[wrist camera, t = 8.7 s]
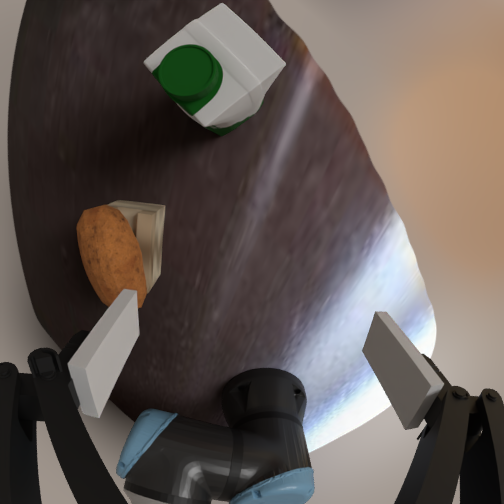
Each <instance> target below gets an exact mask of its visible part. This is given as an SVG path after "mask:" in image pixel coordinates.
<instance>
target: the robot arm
mask: <svg viewBox="0 0 504 504" xmlns="http://www.w3.org/2000/svg"><path fill="white" fill-rule="evenodd" d="M138 336H139V322H138V305H137V291H136V290H129V289H123V290H122V292H121V293H120V294H119V295H118V297H117V298H116V299H115V300H114V302H113V303H112V304H111V306H110V307H109V308H108V309H107V311H106V312H105V313H104V315H103V316H102V317H101V319H100V320H99V321H98V323H97V324H96V325H95V327H94V328H93V329H92V331H91V332H89V331H84V330H82V331H80V332H78V333H77V334H75V335H74V336H73V337H72V338H71V339H70V341H69V343H67V345H66V346H65V348H63V350H62V351H61V352H60V354H59V355H58V354H57V352H56V351H55V350H53V349H50V348H39V349H36V350H34V351H33V352H31V353H30V355H29V356H28V364H29V367H30V370H31V372H32V374H27V373H19V372H18V369H17V367H16V366H15V365H14V364H12V363H9V362H3V363H0V504H42V502H41V495H40V486H39V477H38V463H37V438H36V422H37V421H45V424H46V427H47V430H48V433H49V435H50V439H51V442H52V445H53V447H54V450H55V453H56V456H57V458H58V461H59V463H60V466H61V468H62V471H63V473H64V475H65V478H66V480H67V482H68V484H69V486H70V489H71V491H72V493H73V495H74V497H75V499H76V501H77V503H78V504H128V503H127V501H126V500H125V498H124V497H123V495H122V494H121V492H120V491H119V489H118V487H117V486H116V484H115V482H114V481H113V479H112V477H111V476H110V474H109V472H108V470H107V469H106V467H105V465H104V463H103V461H102V459H101V458H100V456H99V454H98V452H97V450H96V448H95V446H94V444H93V442H92V440H91V438H90V436H89V434H88V432H87V430H86V428H85V425H84V423H83V421H82V419H81V416H80V414H79V412H78V407H79V406H80V407H81V410H82V412H83V414H85V415H89V416H93V417H96V418H100V415H101V413H102V411H103V409H104V407H105V404H106V402H107V400H108V398H109V396H110V393H111V391H112V389H113V387H114V385H115V383H116V381H117V379H118V376H119V374H120V372H121V370H122V368H123V366H124V364H125V362H126V360H127V358H128V356H129V354H130V352H131V350H132V348H133V346H134V344H135V342H136V340H137V338H138ZM362 352H363V353H364V355H365V357H366V359H367V360H368V362H369V364H370V366H371V367H372V369H373V371H374V373H375V375H376V376H377V378H378V380H379V382H380V384H381V385H382V387H383V389H384V391H385V393H386V395H387V396H388V398H389V400H390V402H391V404H392V406H393V408H394V409H395V411H396V413H397V415H398V417H399V419H400V421H401V423H402V425H403V427H404V429H405V430H407V429H412V428H417V427H419V425H420V424H421V422H422V421H423V419H425V421H426V423H427V425H426V426H425V427H424V429H423V430H422V432H421V433H420V435H419V436H418V438H417V440H419V438H420V437H421V438H420V441H419V444H418V447H417V450H416V453H415V456H414V458H413V461H412V463H411V466H410V469H409V471H408V474H407V476H406V478H405V481H404V483H403V485H402V488H401V490H400V492H399V494H398V497H397V499H396V501H395V503H394V504H452V502H453V498H454V495H455V491H456V486H457V483H458V478H459V474H460V504H504V404H503V401H502V398H501V396H500V395H499V394H498V393H497V391H495V390H493V389H484V390H483V391H482V392H481V394H480V396H479V397H478V396H470V395H469V393H468V392H467V391H466V390H465V389H464V388H461V387H458V386H451V384H450V383H449V382H448V380H447V379H446V378H445V377H444V375H443V374H442V373H441V372H440V371H439V369H438V368H437V366H435V364H434V363H433V361H432V360H431V359H430V358H428V357H427V356H426V355H424V354H421V353H420V352H419V351H418V350H417V348H416V347H415V346H414V345H413V343H412V342H411V341H410V340H409V338H408V337H407V336H406V335H405V333H404V332H403V331H402V330H401V329H400V327H399V326H398V325H397V324H396V323H395V321H394V320H393V319H392V318H391V317H390V315H389V314H388V313H387V312H376V311H375V314H374V317H373V320H372V324H371V327H370V330H369V333H368V336H367V339H366V342H365V344H364V347H363V350H362ZM306 403H307V398H306V393H305V389H304V386H303V384H302V382H301V381H300V380H299V379H298V378H297V377H296V376H294V375H293V374H291V373H289V372H286V371H283V370H280V369H273V368H261V369H254V370H250V371H247V372H244V373H242V374H239V375H238V376H236V377H234V378H233V379H232V380H231V381H230V382H229V383H228V384H227V385H226V386H225V388H224V390H223V393H222V410H223V413H224V416H225V418H226V421H227V423H228V425H229V427H225V426H220V425H215V424H211V423H207V422H203V421H199V420H195V419H191V418H187V417H184V416H180V415H178V413H169V412H165V411H161V410H157V409H147V410H145V411H143V412H142V413H141V414H140V415H139V417H138V418H137V420H136V422H135V423H134V425H133V427H132V429H131V431H130V434H129V435H128V438H127V440H126V442H125V445H124V447H123V450H122V452H121V455H120V460H119V463H118V465H117V469H116V473H117V474H118V475H119V476H120V477H121V478H123V479H124V478H126V481H125V485H124V492H125V493H126V494H127V496H128V497H129V499H130V500H131V503H132V504H211V501H212V499H214V500H219V501H227V502H229V504H304V503H306V502H307V501H308V500H309V499H310V498H311V496H312V495H313V493H314V478H313V473H314V471H313V469H312V467H311V462H310V458H309V453H308V449H307V444H306V440H305V435H304V431H303V426H302V423H303V418H304V414H305V409H306ZM482 429H483V430H482ZM481 431H482V434H481Z"/></svg>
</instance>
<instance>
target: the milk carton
mask: <svg viewBox="0 0 504 504" xmlns="http://www.w3.org/2000/svg"><path fill="white" fill-rule="evenodd" d="M144 64H145V65H146V67H147V68H148V69H149V70H150V71H151V73H152V74H153V76H154V77H155V78H156V79H157V81H158V82H159V83H160V84H161V85H162V87H163V89H164V90H165V92H166V93H167V94H168V96H169V97H170V98H171V99H172V100H173V101H175V102H176V103H177V105H178V106H179V107H180V108H181V109H182V110H183V111H184V112H185V113H186V114H187V115H188V116H189V117H191V118H192V119H193V120H195V121H196V122H197V123H199V124H200V125H201V126H203V127H205V128H206V129H208V130H210V131H212V132H214V133H216V134H218V135H220V136H223V135H225V134H227V133H229V132H231V131H232V130H234V129H236V128H237V127H238V126H240V125H241V124H242V123H244V122H245V121H246V120H248V119H249V118H250V117H252V116H253V115H254V114H255V113H256V112H257V111H258V110H259V109H260V107H261V106H262V104H263V98H264V95H265V93H266V92H267V90H268V89H269V87H270V86H271V84H272V83H273V81H274V80H275V79H276V77H277V76H278V74H279V73H280V72H281V70H282V69H283V68H284V66H285V65H286V63H285V62H284V61H283V60H282V59H281V58H280V57H279V56H278V55H277V54H276V53H275V52H274V51H273V50H272V49H271V48H270V47H269V46H268V44H267V43H266V42H265V41H263V40H262V39H261V38H260V37H259V36H258V35H257V34H256V33H255V32H254V31H253V30H252V29H251V28H250V27H249V26H248V25H247V24H246V23H245V22H244V21H243V20H241V19H240V18H239V17H238V16H237V15H236V14H235V13H234V12H233V11H231V10H230V9H229V8H228V7H227V6H226V5H225V4H223V3H221V4H219V5H218V6H216V7H215V8H213V9H212V10H210V11H209V12H207V13H206V14H204V15H203V16H201V17H200V18H198V19H197V20H196V19H195V20H193V21H192V22H190V23H189V24H187V25H186V26H185V27H184V28H183V29H182V30H180V31H179V32H178V33H177V34H175V35H174V36H173V37H172V38H170V39H169V40H168V41H167V42H165V43H164V44H163V45H162V46H161V47H159V48H158V49H157V50H156V51H155V52H154V53H152V54H151V55H150V56H149V57H148V58H147V59H146V60H145V61H144Z"/></svg>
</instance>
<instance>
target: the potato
mask: <svg viewBox="0 0 504 504" xmlns="http://www.w3.org/2000/svg"><path fill="white" fill-rule="evenodd" d="M77 237H78V244H79V249H80V254H81V258H82V262H83V265H84V268H85V271H86V273H87V276H88V278H89V280H90V282H91V284H92V286H93V288H94V290H95V292H96V293H97V295H98V296H99V298H100V299H101V301H102V302H103V303H104V304H106V305H107V306H109V307H110V306H111V304H112V303H113V302H114V300H115V299H116V298H117V297H118V295H119V294H120V293H121V292H122V290H123V289H129V290H136V291H137V305H138V308H140V307H142V304H143V302H144V299H145V297H146V294H147V286H146V278H145V273H144V268H143V260H142V252H141V250H140V247H139V243H138V241H137V239H136V237H135V235H134V233H133V231H132V229H131V227H130V225H129V222H128V221H127V219H126V218H125V217H124V215H123V214H122V213H121V212H120V210H118V209H116V208H113V207H111V206H108V205H102V206H98V207H95V208H91V209H87V210H84V211H83V213H82V215H81V217H80V219H79V221H78V223H77Z"/></svg>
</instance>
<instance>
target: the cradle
mask: <svg viewBox="0 0 504 504" xmlns="http://www.w3.org/2000/svg"><path fill="white" fill-rule="evenodd" d="M108 206H111V207H113V208H116V209H118V210H120V212H121V213H122V214H123V215H124V217H125V218H126V219H127V221H128V222H129V225H130V227H131V229H132V231H133V233H134V235H135V237H136V239H137V241H138V243H139V247H140V250H141V252H142V260H143V268H144V273H145V278H146V286H147V293H149V291H150V290H151V288H152V287H153V285H154V283H155V282H156V280H157V279H158V277H159V275H160V273H161V255H162V240H163V227H164V216H165V205H157V204H149V203H140V202H131V201H122V200H118V201H115V202H113V203H110V204H108Z"/></svg>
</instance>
